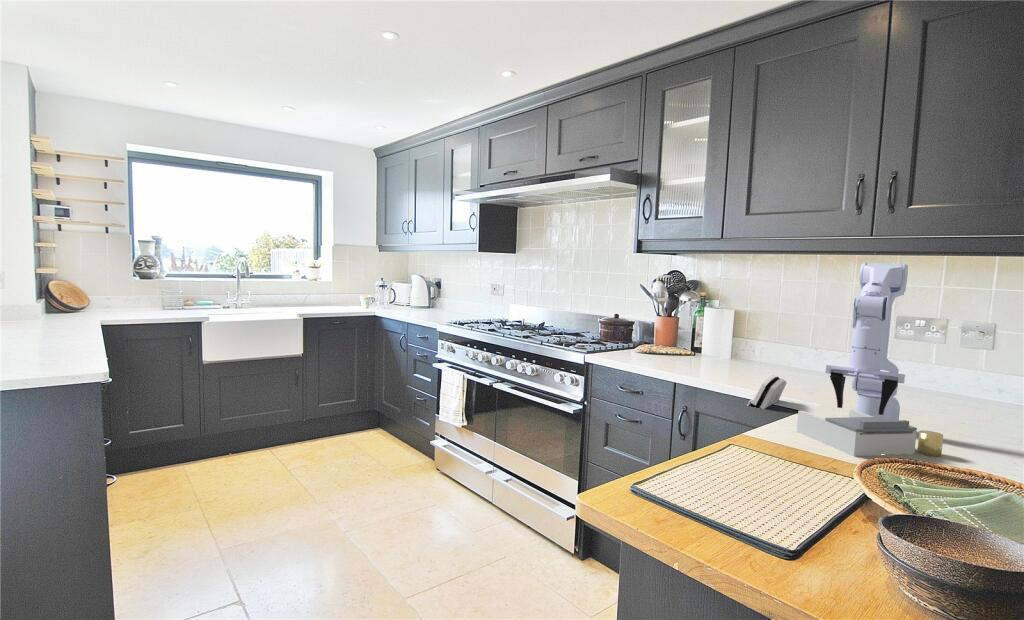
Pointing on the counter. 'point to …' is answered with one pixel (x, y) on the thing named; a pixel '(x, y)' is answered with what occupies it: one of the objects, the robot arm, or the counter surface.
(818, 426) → the box
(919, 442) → the gold small block
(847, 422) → the lid
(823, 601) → the counter surface
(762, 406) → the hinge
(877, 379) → the robot arm
